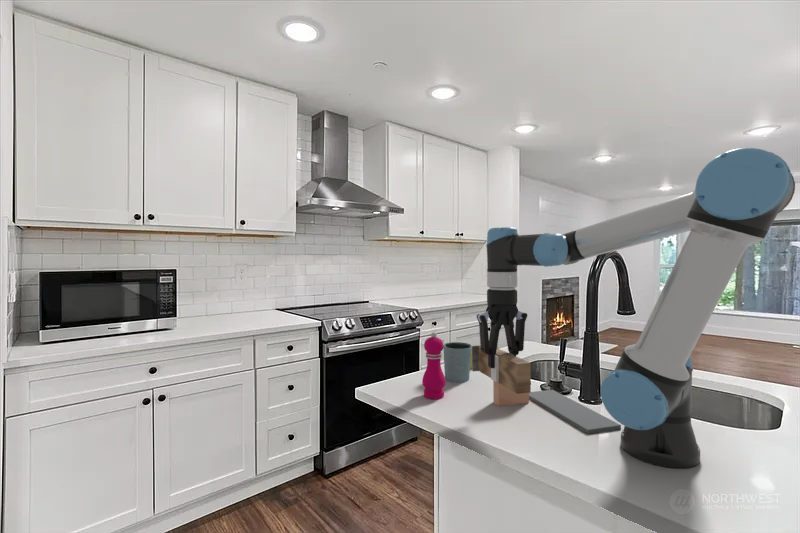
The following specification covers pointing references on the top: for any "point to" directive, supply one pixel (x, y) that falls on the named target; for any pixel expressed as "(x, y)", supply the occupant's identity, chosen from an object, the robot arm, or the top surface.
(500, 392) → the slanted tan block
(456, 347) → the grey-blue cup
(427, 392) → the pepper mill
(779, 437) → the top surface
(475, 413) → the top surface
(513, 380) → the wooden block
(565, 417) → the charcoal mat
